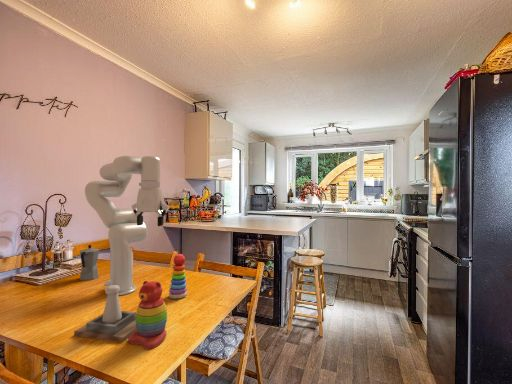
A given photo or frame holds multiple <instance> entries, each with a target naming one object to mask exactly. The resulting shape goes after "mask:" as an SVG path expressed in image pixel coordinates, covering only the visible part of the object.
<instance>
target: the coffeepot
mask: <svg viewBox="0 0 512 384" xmlns="http://www.w3.org/2000/svg"><path fill="white" fill-rule="evenodd" d="M99 253H100V249H99V248H93V247H92V244H88V245H87V248H85V249H81V250H80V251H79V254H80V255H79V256H80V260H81V264H82V265H81V270H80V275H79V280H80V281H83V282H85V281H86V282H88V281H93V280H96V279H98V278H99V271H98V263H97V262H98V260H99V258H98V257H99Z"/></svg>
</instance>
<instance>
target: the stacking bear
mask: <svg viewBox="0 0 512 384" xmlns="http://www.w3.org/2000/svg"><path fill="white" fill-rule="evenodd" d="M162 295H163V286H162V284H161V282H159V281H155V280H152V281H151V280H150V281H148V280H144V281H143V282H142V286H141V287H140V289H139V291H138V298H139V299H140V301H139V303H138V305H137V309H136V319H135V320H136V327H137V331H136V332H134V333H133V334H131V335H130V336H129V338H128V339H127V343H128V344H131V345H138V344H139V345H141V346H143V348H144V349H147V350H150V349H155V348H156V347H158V346H160V344H162V343H163V342H164V341H165V339H166V337H167V330H166V326H167V321H168V312H167V311H168V310H167V306H166V302H165V301H164V299H163V298H162Z"/></svg>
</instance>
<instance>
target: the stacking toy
mask: <svg viewBox="0 0 512 384" xmlns="http://www.w3.org/2000/svg"><path fill="white" fill-rule="evenodd" d="M172 261H173V263H174V265H173V267H172V268H173V269H172V272H171V273H172V275H171V280H170V285H169V286H170V287H169V289H168V297H169V298H170V299H173V300H178V299H179V300H181V299H183V298H186V297H187V296H188V291H187V282H186V281H187V279H186V274H185V273H186V270H185V268H186V267H185V266H186V265H185V262H186V258H185V256H184V254H181V253H178V254H175V255H174V257H173V260H172Z"/></svg>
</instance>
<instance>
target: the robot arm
mask: <svg viewBox="0 0 512 384" xmlns="http://www.w3.org/2000/svg"><path fill="white" fill-rule="evenodd" d="M133 175H140V182H138V186H139V187H140V188H139V189H138V191H137V197H136V202H135V203H134V204H132V205H131V208H118V207H116V205H115V204H114V202H113V201H111V200H110V199H108V198H119V197H121V196H123V194H124V193H125V191H126V189H127V187H128V185H129V183H130V182H131V180H132V176H133ZM99 176H100V177H101V178H102V179H103V180H93V181H89V182H87V184H86V185H85V187H84V196H85V198H86V199H85V200H87V202H88V204H89V205H90V207H91V208H93V210H94V211H96V214H97V215H98V217H99V218H100V220H101V221H102V223H103V224H104V226H105V227H106V228H108V232H107V233H108V234H107V235H108V241H109V249H110V255H109V256H110V259H109V261H110V263H109V264H110V266H109V267H110V268H109V269H110V271H109V280H106V281H104V284H103V286H104V287H108V286H111V285H118V286H119V287H120V291H119V293H118V296H123V295H124V296H125V295H128V294H131V293H134V292H135V291H136V290H137V286H136V285H135V284H133V283H134V281H133V279H134V274H133V273H134V266H133V265H134V252H133V249H132V248H131V246H130V245H129V244H132V243H137V242H142V241H144V240H146V239H147V237H148V235H149V229H148V228H147V225H146V223H145V222H144V216H143V214H144V213H156V214H157V215H158V216H157V227H163V226H164V218H165V216H166V214H168V212H169V209H170V206H169V205H168V204H166V203H164V198H163V192H162V189H161V159H160V157H157V156H154V155H145V156H143V157H142V156H141V157H139V156H135V155H134V156H132V155H123V156H122V155H121V156H117V157H115V158H114V160H113V161H112V162H109V163H106V164H103V165H102V166H101V167H100V168H99Z"/></svg>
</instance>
